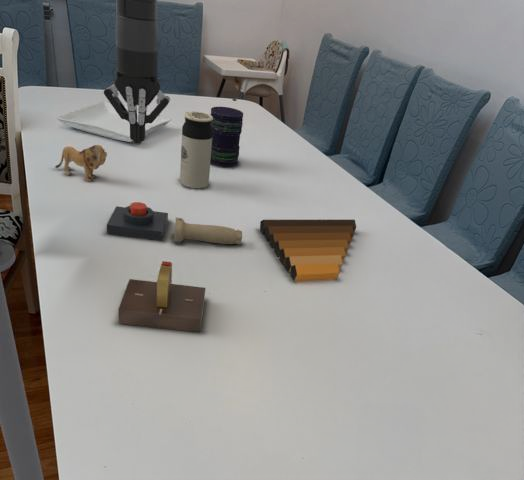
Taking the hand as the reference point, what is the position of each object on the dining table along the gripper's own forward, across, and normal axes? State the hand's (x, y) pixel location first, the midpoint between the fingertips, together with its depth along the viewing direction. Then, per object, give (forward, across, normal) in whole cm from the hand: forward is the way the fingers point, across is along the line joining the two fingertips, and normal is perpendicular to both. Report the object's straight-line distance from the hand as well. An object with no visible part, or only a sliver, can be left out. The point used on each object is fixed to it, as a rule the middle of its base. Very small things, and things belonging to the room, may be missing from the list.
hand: (137, 142), depth 102 cm
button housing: (+19, 0, 0) cm, 19 cm away
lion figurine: (+19, -19, +26) cm, 37 cm away
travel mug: (+19, +10, +31) cm, 38 cm away
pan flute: (+19, +44, -1) cm, 48 cm away
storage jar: (+19, +17, +52) cm, 58 cm away
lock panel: (+19, +10, -32) cm, 39 cm away
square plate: (+19, -19, +70) cm, 75 cm away
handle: (+17, +24, -2) cm, 29 cm away
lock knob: (+16, +10, -32) cm, 37 cm away
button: (+15, 0, 0) cm, 15 cm away
